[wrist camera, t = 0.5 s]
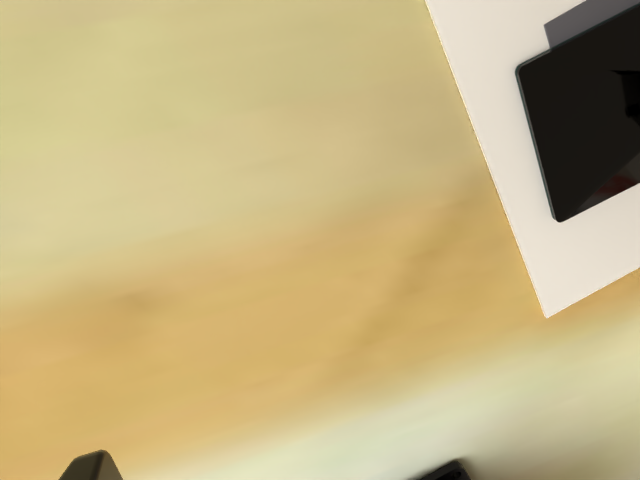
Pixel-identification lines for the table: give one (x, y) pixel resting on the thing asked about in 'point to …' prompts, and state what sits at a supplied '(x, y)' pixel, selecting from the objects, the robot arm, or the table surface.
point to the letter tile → (517, 147)
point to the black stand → (586, 113)
